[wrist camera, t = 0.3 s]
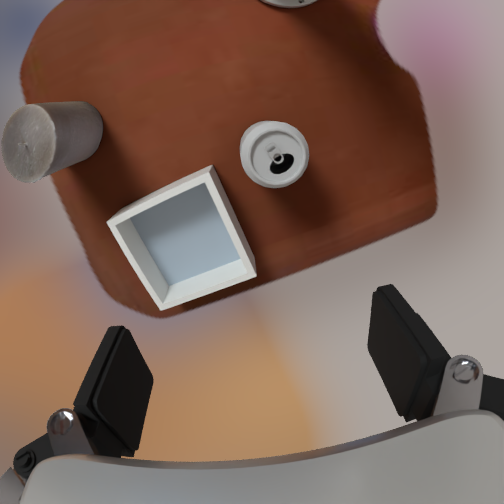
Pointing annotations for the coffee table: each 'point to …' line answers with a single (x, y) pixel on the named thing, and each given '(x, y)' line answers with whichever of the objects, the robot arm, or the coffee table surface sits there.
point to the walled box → (184, 240)
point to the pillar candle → (49, 138)
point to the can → (273, 153)
